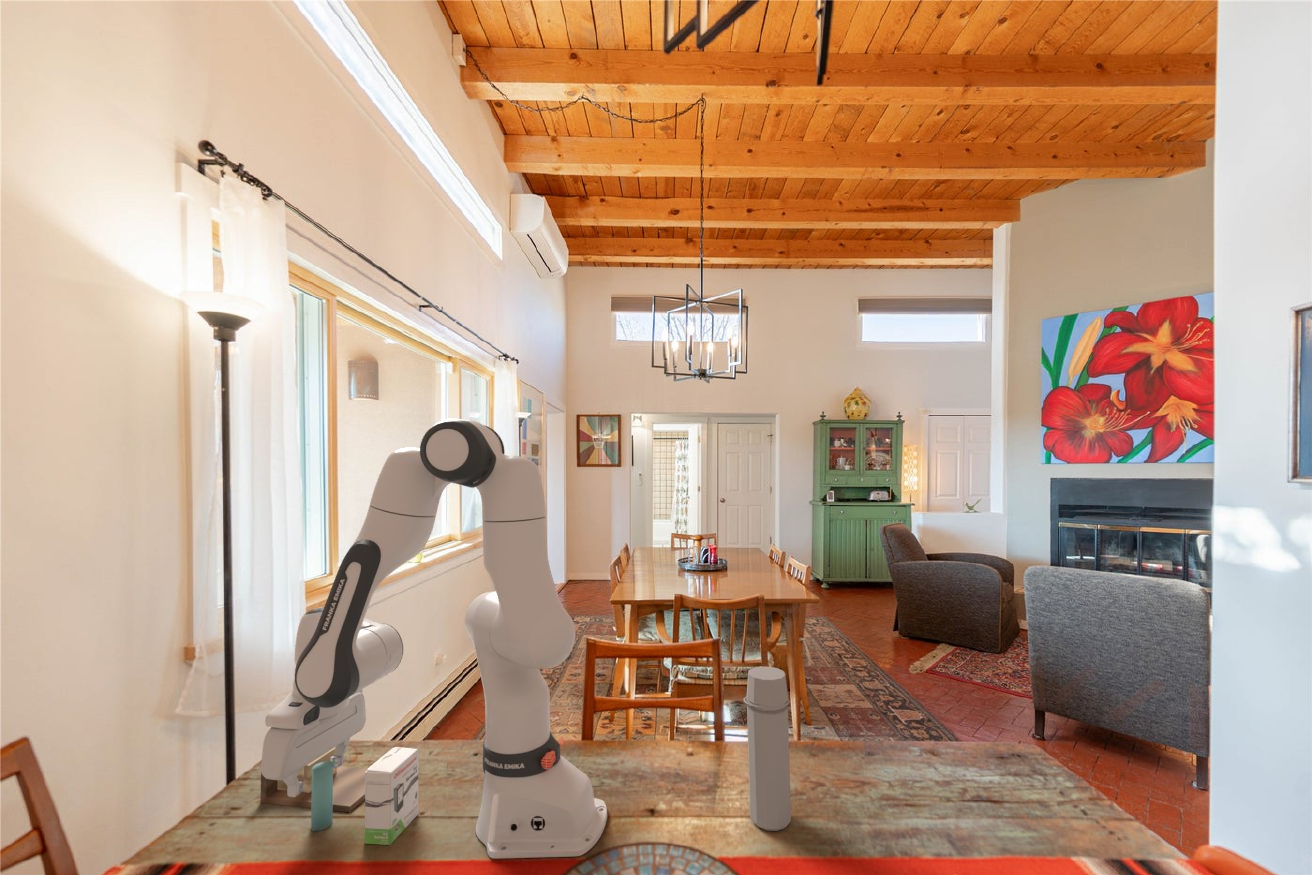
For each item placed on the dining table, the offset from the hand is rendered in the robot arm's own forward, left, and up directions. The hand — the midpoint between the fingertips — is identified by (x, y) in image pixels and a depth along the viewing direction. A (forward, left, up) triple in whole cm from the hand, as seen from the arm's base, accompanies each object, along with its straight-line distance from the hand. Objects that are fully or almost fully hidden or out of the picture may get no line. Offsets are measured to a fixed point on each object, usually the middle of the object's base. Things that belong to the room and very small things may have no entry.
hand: (316, 779), depth 97 cm
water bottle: (-78, -15, -8) cm, 79 cm away
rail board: (+6, -11, -8) cm, 15 cm away
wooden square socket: (+11, -11, -7) cm, 17 cm away
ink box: (-14, -2, -8) cm, 16 cm away
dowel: (-1, -1, -8) cm, 8 cm away
